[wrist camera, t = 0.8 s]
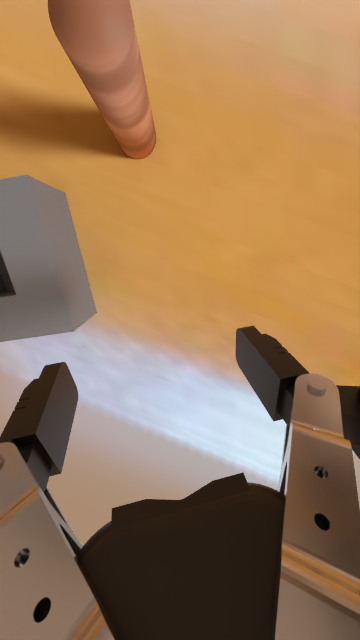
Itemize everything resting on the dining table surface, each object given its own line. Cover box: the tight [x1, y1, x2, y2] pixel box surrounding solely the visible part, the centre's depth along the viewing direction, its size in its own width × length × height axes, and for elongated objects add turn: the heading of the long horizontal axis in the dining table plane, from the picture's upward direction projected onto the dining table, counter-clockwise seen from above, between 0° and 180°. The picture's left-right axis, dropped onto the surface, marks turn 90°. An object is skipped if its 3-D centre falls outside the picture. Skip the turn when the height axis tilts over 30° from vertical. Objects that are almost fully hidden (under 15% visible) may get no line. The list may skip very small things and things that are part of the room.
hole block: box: [0, 175, 97, 342], centre depth 25 cm, size 14×14×7 cm
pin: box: [48, 0, 156, 159], centre depth 18 cm, size 4×4×14 cm
